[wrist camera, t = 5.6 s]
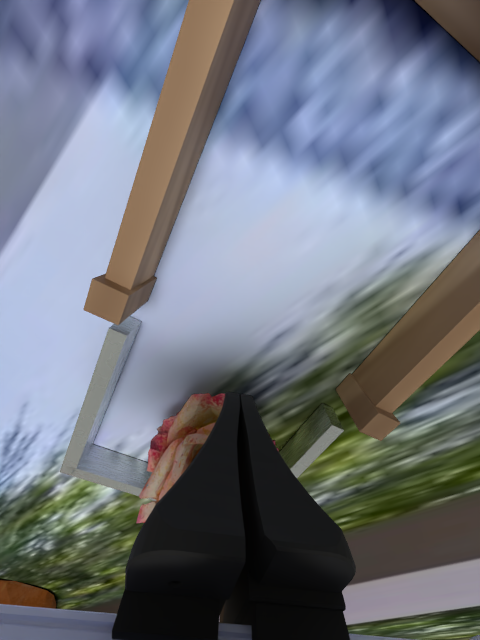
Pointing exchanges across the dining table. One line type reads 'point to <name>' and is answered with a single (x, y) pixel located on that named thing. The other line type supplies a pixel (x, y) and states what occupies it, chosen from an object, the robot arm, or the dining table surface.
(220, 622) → the beer bottle
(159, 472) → the flower
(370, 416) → the wooden frame
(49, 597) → the bread
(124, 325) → the stand tray
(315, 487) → the dining table surface
